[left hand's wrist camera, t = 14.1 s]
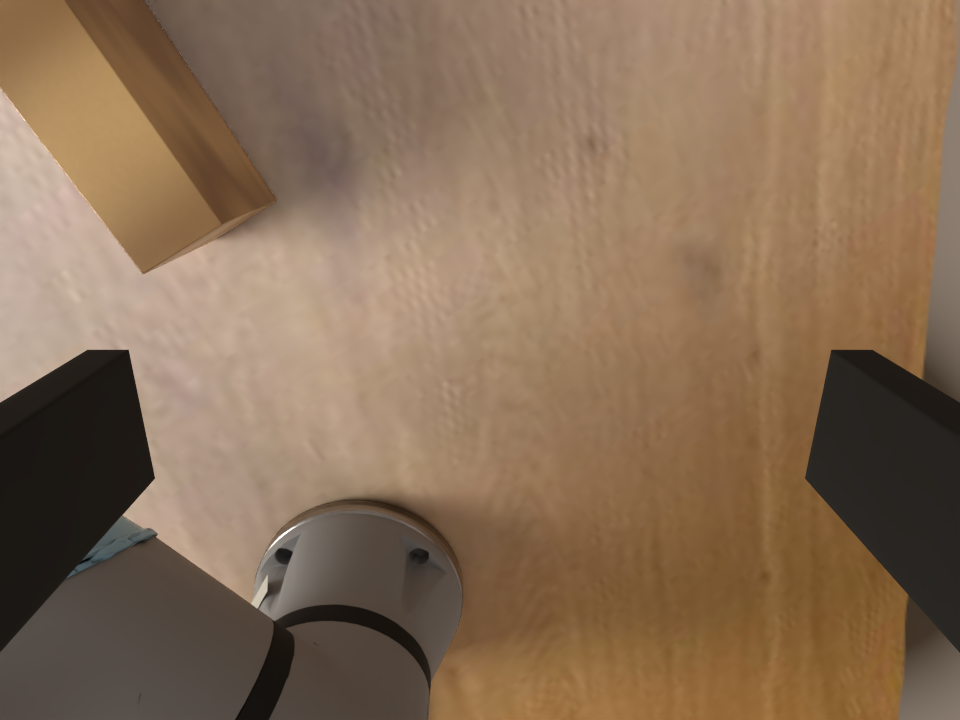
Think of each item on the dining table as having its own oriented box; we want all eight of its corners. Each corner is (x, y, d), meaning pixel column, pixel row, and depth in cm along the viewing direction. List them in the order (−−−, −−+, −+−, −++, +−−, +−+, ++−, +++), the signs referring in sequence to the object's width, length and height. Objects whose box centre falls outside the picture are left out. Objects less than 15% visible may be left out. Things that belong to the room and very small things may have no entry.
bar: (277, 200, 39) (222, 224, 31) (212, 241, 40) (142, 274, 32) (1, -215, 32) (-166, -329, 24) (-71, -155, 33) (-257, -245, 25)
